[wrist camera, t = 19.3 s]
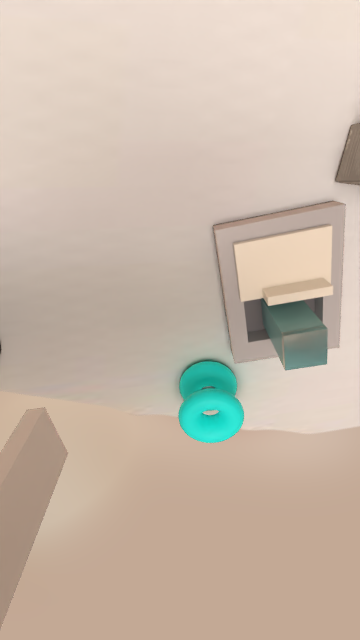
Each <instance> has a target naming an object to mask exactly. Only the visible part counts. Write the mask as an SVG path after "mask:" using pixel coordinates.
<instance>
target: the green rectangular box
mask: <svg viewBox="0 0 360 640" xmlns="http://www.w3.org/2000/svg"><path fill="white" fill-rule="evenodd" d="M261 307H262V318H263V325H264V327H265V329H266V331H267V334H268V336H269V338H270V340H271V342H272V344H273V346H274V348H275V350H276V352H277V354H278V356H279V358H280V361H281V363H282V365H283V367H284V369H285V370H291V369H298V368H304V367H311V366H318V365H324V364H327V342H328V329H327V327H326V326H325V325H324V324H323V323H322V322H321V320H320V319H319V318H318V317H317V316H316V315H315V313H314V312H313V311H312V310H311V309H310V308H309V306H308V305H307V304H306V303H305V302H304V301H303V300H300V301H294V302H289V303H283V304H277V305H271V306H268V305H267V303H266V301H265V300H264V298H261Z"/></svg>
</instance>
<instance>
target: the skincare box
mask: <svg viewBox="0 0 360 640" xmlns="http://www.w3.org/2000/svg"><path fill="white" fill-rule="evenodd" d="M336 182H340V183H347V184H355V185H360V123H357V124H354V125H352V126H351V129H350V132H349V136H348V140H347V143H346V147H345V150H344V154H343V158H342V161H341V165H340V168H339V172H338V175H337V178H336Z"/></svg>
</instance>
